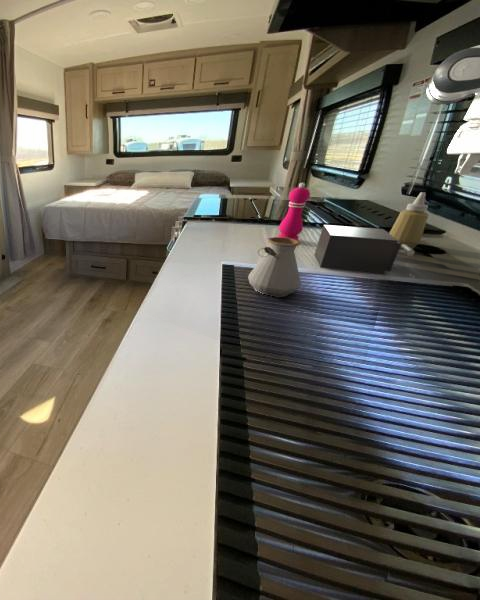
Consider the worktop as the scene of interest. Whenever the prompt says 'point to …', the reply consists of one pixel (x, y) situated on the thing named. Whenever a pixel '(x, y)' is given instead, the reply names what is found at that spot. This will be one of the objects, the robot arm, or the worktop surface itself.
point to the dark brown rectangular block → (355, 249)
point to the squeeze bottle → (411, 223)
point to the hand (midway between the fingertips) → (460, 174)
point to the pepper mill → (294, 213)
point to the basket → (403, 248)
